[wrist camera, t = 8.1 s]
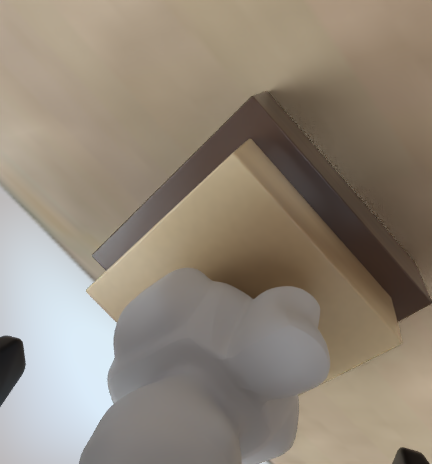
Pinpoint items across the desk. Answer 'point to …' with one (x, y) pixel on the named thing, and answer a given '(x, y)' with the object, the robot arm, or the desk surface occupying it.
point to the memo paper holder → (269, 235)
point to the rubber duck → (208, 374)
